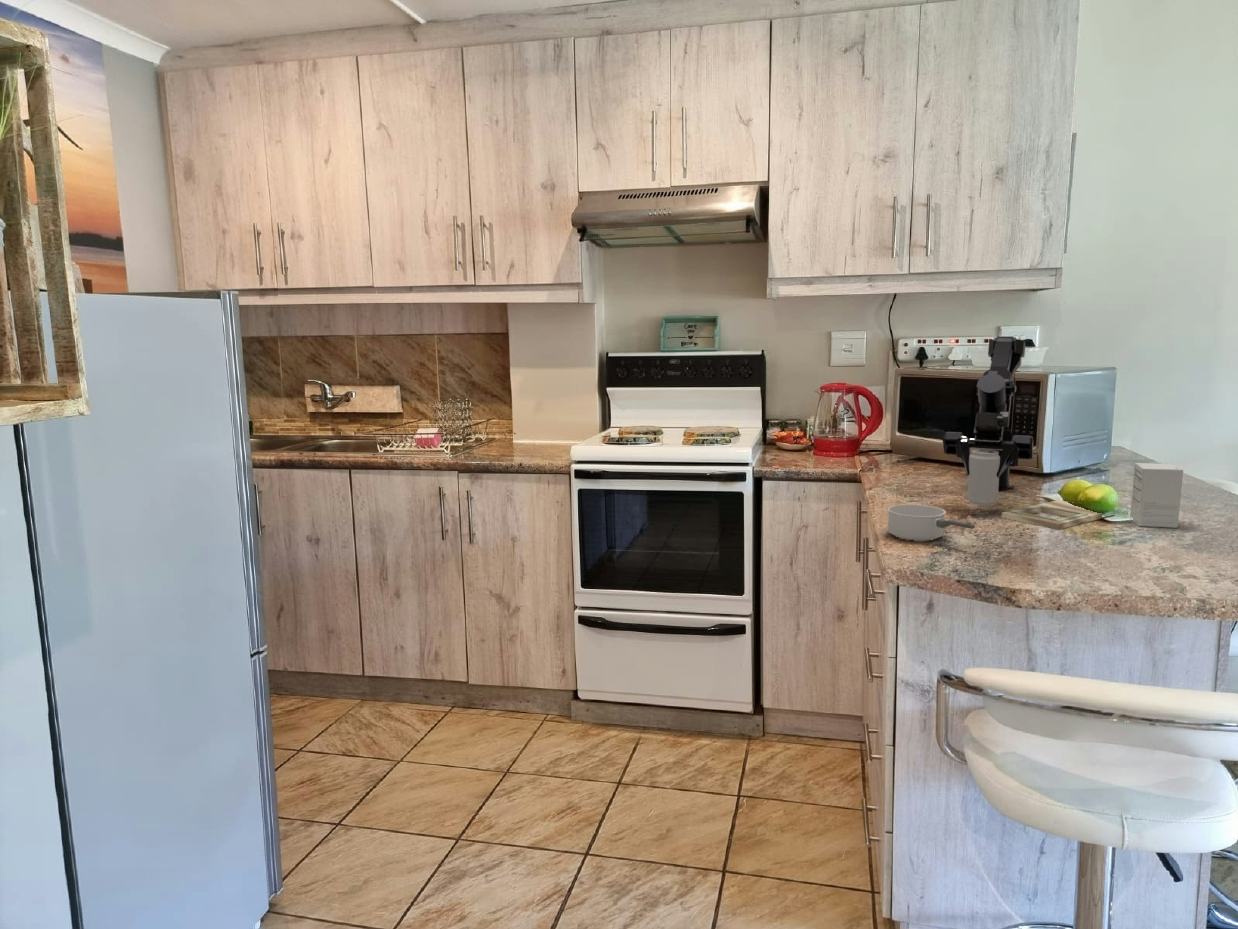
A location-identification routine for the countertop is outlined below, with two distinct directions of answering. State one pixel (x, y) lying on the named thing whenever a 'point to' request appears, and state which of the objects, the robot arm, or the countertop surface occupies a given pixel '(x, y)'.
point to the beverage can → (983, 477)
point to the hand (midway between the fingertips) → (982, 475)
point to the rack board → (1060, 508)
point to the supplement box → (1156, 495)
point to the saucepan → (919, 522)
